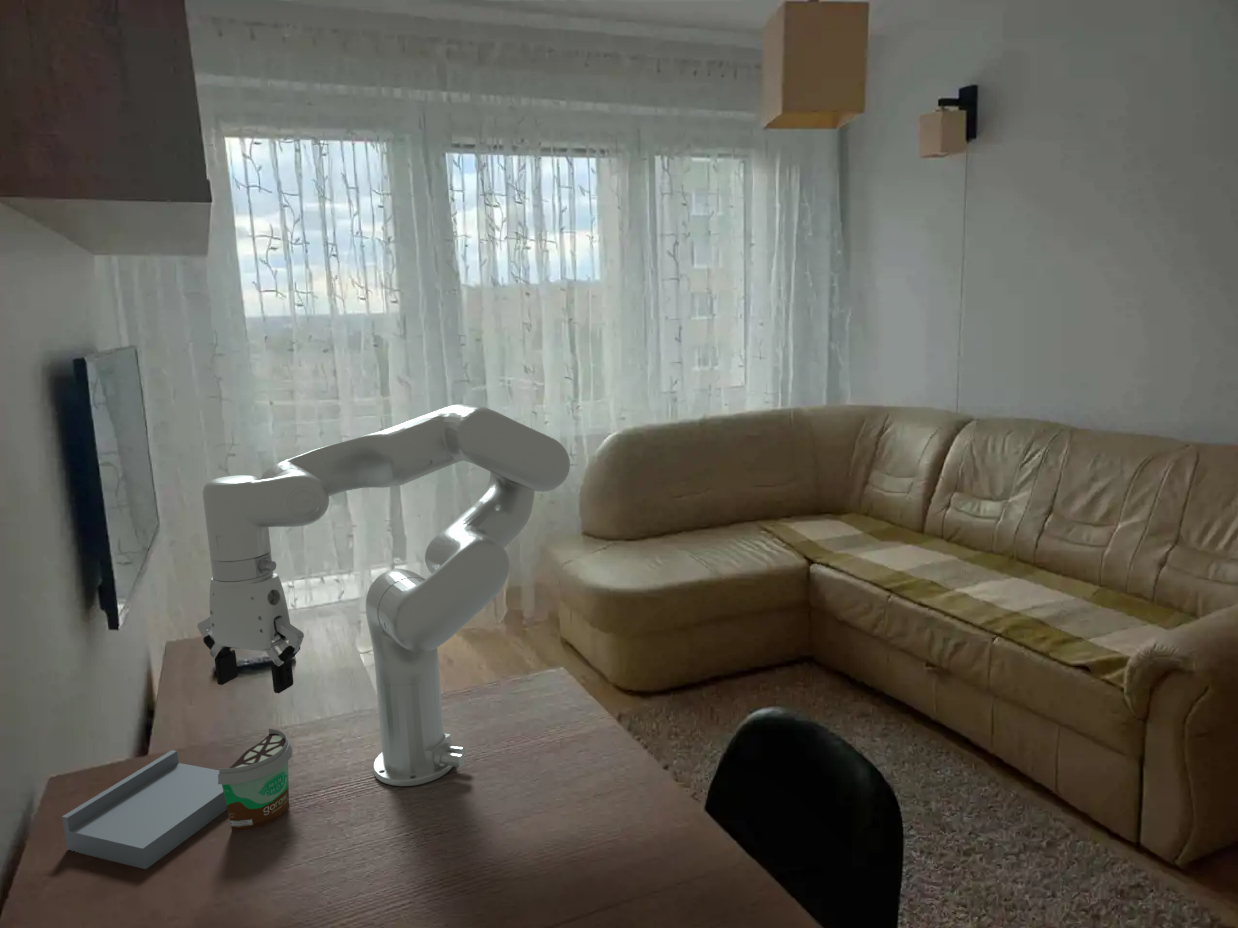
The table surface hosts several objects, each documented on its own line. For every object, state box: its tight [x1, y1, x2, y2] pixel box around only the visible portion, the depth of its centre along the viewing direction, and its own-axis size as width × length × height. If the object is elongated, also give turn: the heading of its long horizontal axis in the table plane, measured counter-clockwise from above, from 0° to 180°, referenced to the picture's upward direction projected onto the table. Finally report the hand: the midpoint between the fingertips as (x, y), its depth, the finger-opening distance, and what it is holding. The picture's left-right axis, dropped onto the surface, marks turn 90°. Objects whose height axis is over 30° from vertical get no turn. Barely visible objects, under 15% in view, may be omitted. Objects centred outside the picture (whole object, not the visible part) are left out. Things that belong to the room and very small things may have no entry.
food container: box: [218, 728, 294, 832], centre depth 119 cm, size 12×6×10 cm, turn 168°
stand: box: [61, 749, 228, 870], centre depth 119 cm, size 14×18×5 cm
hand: (255, 684), depth 117 cm, fingers open, 9 cm apart
